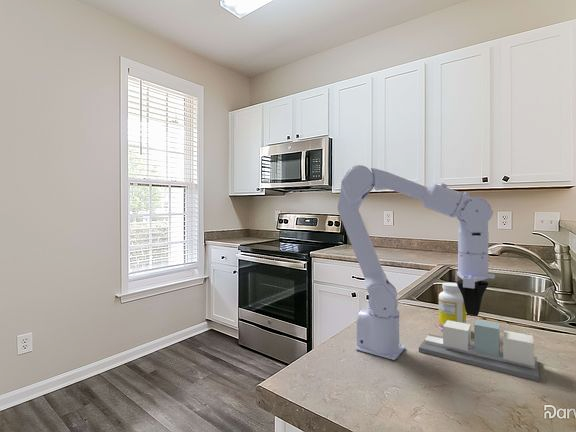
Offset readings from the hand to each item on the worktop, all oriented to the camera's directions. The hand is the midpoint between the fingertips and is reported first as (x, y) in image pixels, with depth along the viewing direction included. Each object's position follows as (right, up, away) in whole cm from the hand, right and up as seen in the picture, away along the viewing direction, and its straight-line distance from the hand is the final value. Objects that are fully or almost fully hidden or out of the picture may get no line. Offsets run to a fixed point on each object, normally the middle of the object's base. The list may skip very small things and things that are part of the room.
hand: (472, 314), depth 68 cm
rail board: (+2, -10, +2) cm, 11 cm away
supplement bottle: (+5, -10, +18) cm, 21 cm away
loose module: (+4, -8, +1) cm, 9 cm away
